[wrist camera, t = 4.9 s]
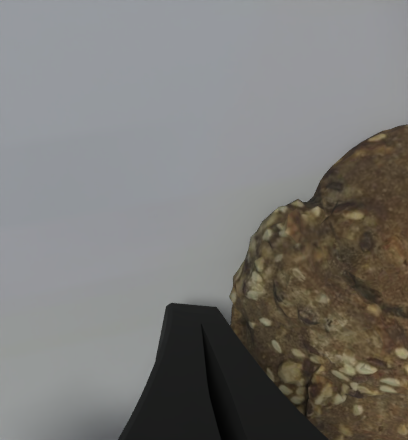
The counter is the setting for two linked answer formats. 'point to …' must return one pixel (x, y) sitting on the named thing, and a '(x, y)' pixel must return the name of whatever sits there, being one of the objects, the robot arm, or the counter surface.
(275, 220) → the bread roll
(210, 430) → the robot arm
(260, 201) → the counter surface
